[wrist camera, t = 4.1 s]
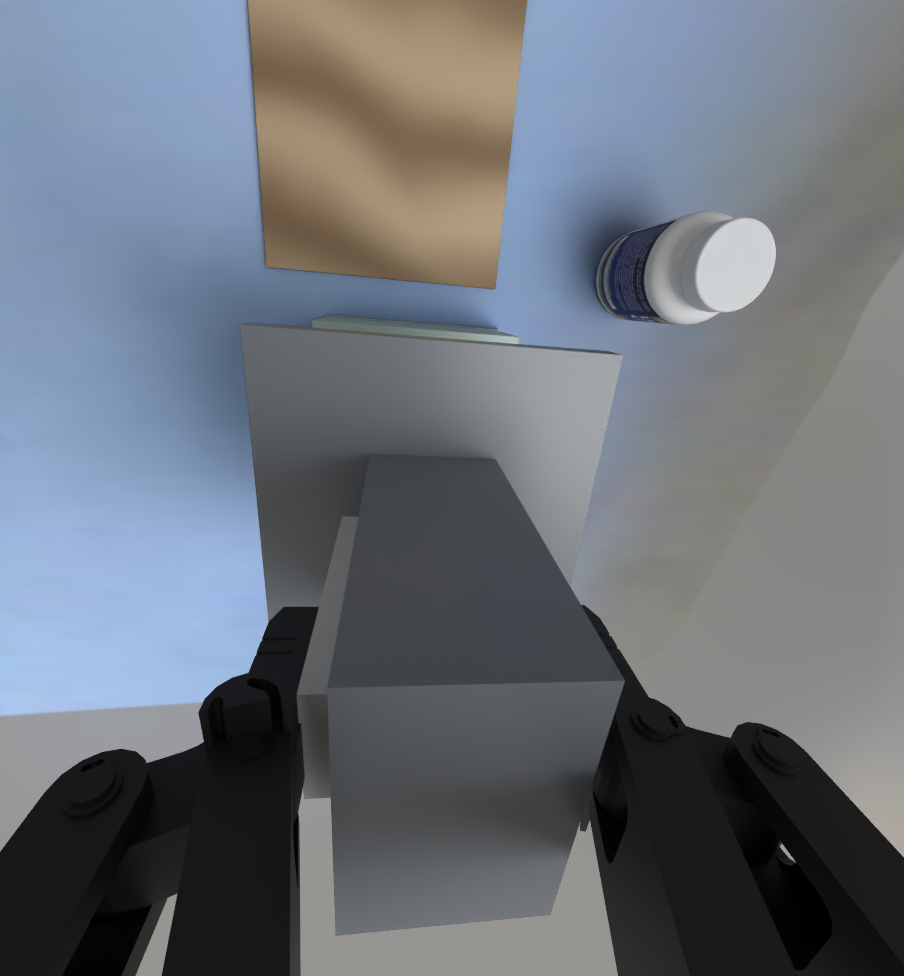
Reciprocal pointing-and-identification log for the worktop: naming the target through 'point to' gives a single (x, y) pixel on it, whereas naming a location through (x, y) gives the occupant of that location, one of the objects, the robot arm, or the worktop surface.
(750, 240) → the pill bottle
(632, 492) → the worktop surface
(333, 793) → the lid
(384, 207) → the plate
